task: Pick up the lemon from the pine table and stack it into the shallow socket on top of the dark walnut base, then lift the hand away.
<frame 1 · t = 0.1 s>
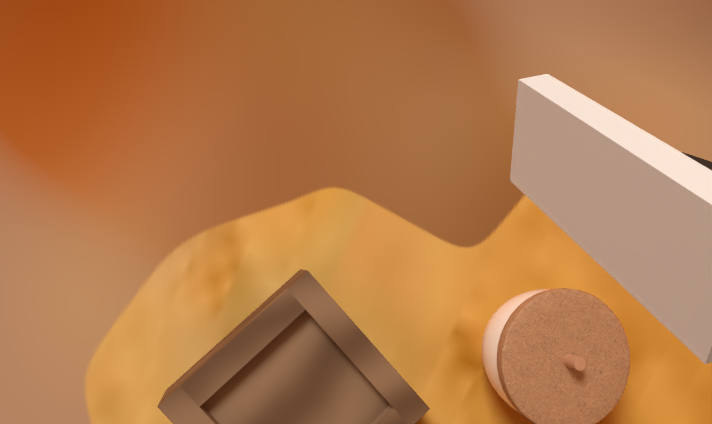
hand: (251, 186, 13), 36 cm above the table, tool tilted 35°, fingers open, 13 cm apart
lidded jar: (519, 344, 52), on the table
walnut base: (293, 391, 48), on the table
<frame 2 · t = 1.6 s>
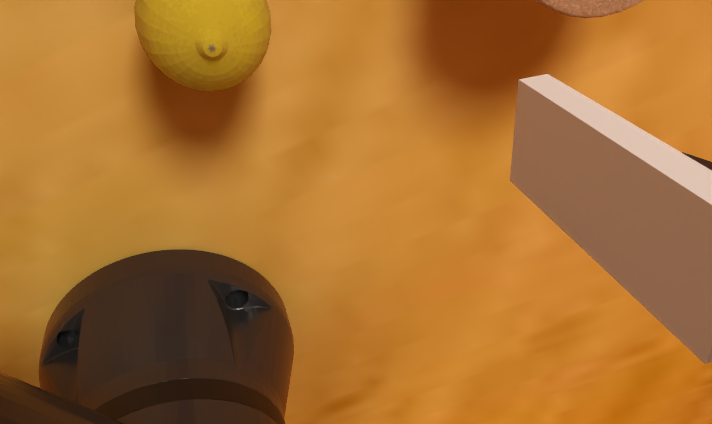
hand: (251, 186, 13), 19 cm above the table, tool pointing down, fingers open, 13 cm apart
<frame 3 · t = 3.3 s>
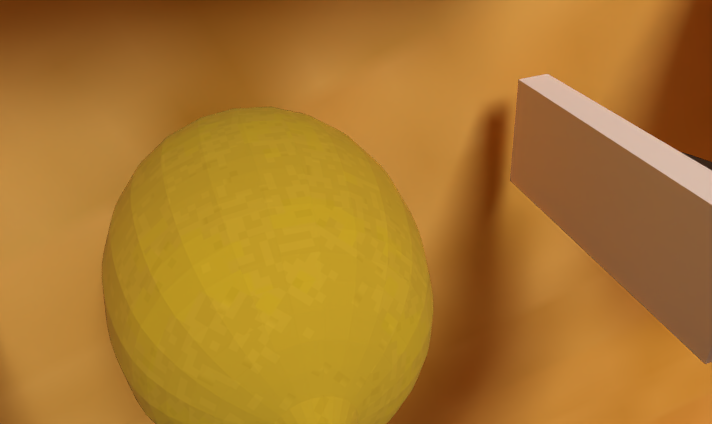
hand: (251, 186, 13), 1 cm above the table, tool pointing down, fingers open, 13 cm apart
lemon: (237, 167, 14), on the table
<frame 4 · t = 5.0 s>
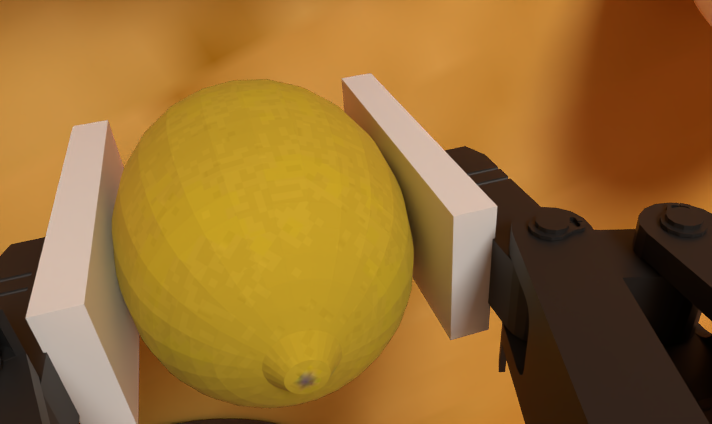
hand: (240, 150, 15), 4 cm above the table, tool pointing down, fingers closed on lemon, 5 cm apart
lemon: (237, 141, 15), point 3 cm above the table, touching gripper
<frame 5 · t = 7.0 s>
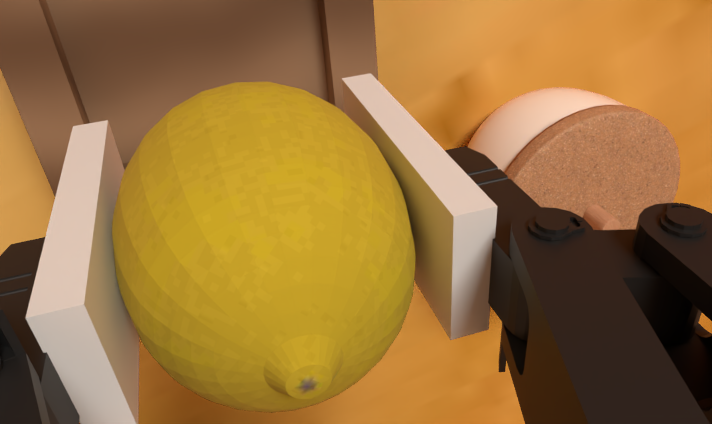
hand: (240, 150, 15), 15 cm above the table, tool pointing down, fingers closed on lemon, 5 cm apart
lidded jar: (511, 146, 36), on the table
lemon: (237, 142, 15), point 15 cm above the table, touching gripper
walnut base: (190, 7, 27), on the table
when the fingers open (6 cm above the table, at t = 9.0 s): lemon drops 1 cm, resting on walnut base.
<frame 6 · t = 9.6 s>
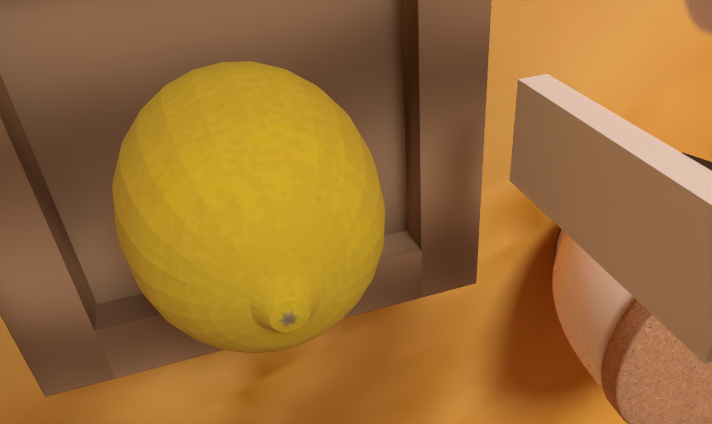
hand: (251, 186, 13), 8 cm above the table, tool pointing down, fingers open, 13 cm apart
lidded jar: (608, 228, 29), on the table
lemon: (224, 122, 16), point 4 cm above the table, touching walnut base
walnut base: (217, 73, 19), on the table
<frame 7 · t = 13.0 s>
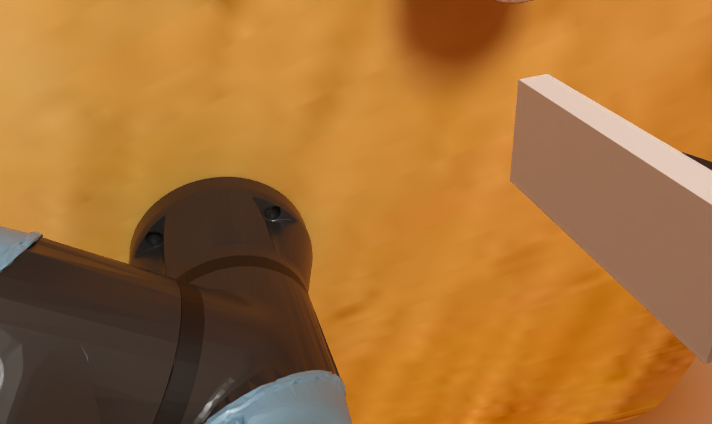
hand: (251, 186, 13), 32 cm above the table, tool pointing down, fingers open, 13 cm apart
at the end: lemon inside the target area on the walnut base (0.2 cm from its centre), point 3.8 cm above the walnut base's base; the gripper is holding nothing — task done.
